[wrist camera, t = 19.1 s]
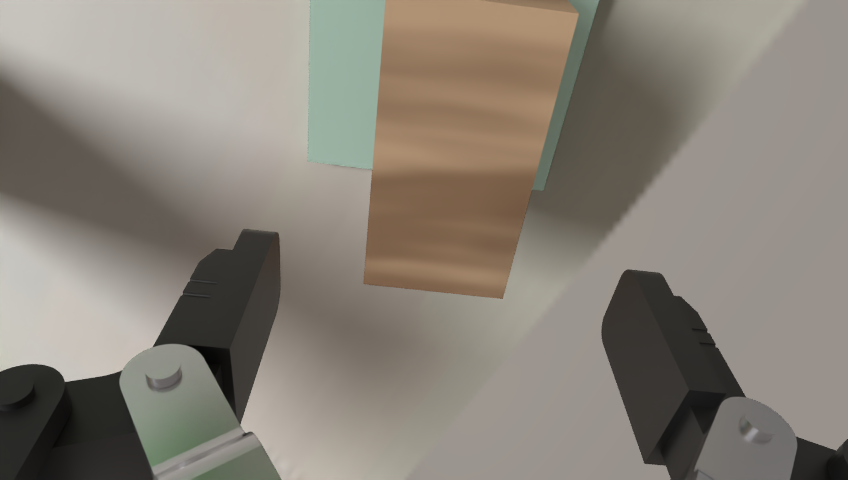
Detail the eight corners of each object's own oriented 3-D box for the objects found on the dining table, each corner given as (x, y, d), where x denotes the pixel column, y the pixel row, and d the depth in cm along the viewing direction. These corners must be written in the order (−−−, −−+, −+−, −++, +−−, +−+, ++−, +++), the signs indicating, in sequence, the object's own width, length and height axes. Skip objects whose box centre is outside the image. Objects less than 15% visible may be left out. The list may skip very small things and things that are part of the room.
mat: (311, 151, 31) (307, 161, 30) (316, -124, 24) (311, -122, 23) (540, 180, 32) (543, 191, 31) (613, -78, 25) (620, -74, 24)
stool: (502, 298, 23) (579, 13, 16) (363, 284, 22) (386, -13, 16) (485, 178, 31) (532, -43, 24) (383, 165, 30) (403, -62, 24)
